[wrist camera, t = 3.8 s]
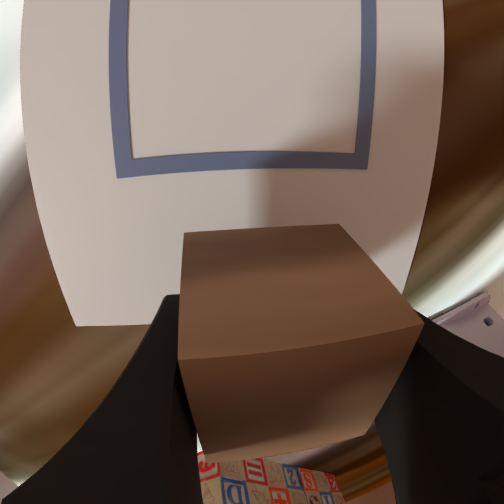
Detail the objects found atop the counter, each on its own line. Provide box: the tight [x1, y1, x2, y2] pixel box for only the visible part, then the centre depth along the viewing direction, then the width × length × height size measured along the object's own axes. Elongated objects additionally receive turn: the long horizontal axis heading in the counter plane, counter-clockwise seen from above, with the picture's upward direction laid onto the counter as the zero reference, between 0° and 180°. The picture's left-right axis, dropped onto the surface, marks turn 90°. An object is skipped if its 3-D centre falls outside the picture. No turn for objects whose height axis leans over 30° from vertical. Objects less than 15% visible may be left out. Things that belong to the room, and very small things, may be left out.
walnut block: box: [178, 224, 424, 463], centre depth 8 cm, size 4×4×4 cm
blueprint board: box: [20, 0, 444, 326], centre depth 8 cm, size 22×16×1 cm
